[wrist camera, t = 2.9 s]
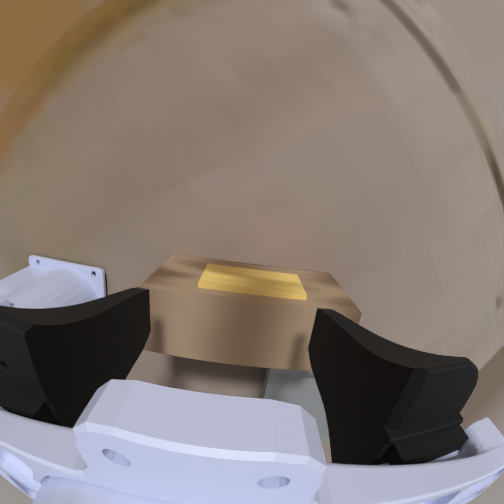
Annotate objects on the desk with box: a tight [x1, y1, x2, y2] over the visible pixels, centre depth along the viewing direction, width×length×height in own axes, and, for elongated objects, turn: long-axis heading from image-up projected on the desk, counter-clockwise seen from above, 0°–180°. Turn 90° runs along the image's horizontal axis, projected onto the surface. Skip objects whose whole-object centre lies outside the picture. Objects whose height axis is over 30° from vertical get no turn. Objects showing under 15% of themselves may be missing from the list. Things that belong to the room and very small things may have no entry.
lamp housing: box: [139, 254, 362, 370], centre depth 18 cm, size 12×5×7 cm, turn 83°
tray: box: [260, 368, 330, 442], centre depth 23 cm, size 11×11×2 cm
